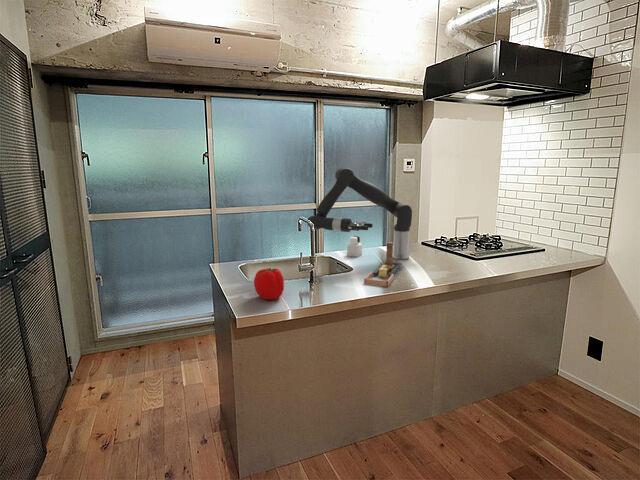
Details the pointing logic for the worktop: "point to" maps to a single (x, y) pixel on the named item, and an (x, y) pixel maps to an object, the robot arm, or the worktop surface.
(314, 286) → the worktop surface
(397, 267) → the slot bed
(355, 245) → the medicine bottle
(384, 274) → the chip
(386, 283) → the tray
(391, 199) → the robot arm
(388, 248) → the rake
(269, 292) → the red bell pepper
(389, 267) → the chip
